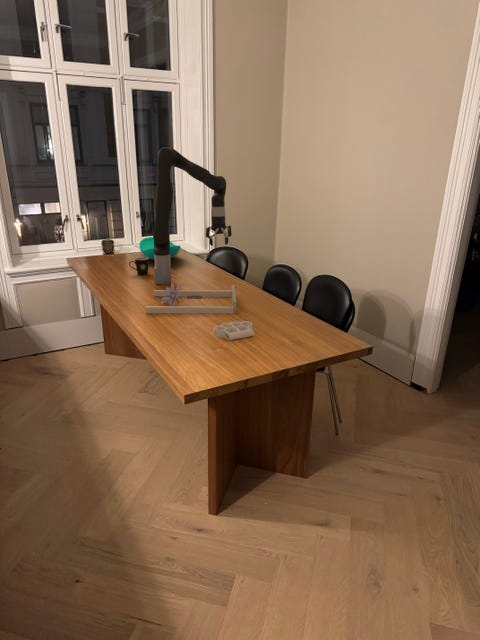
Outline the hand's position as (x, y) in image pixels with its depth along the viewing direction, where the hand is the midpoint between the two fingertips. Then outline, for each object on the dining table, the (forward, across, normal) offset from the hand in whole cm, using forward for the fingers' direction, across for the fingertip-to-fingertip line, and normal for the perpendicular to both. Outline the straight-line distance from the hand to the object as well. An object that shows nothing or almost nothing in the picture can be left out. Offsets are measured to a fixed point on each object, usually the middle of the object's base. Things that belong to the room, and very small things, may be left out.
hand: (218, 244), depth 240 cm
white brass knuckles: (+27, +17, +64) cm, 71 cm away
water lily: (+25, +33, +16) cm, 45 cm away
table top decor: (+24, +15, -82) cm, 87 cm away
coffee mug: (+24, +36, -48) cm, 65 cm away
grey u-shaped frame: (+25, +22, +20) cm, 39 cm away
